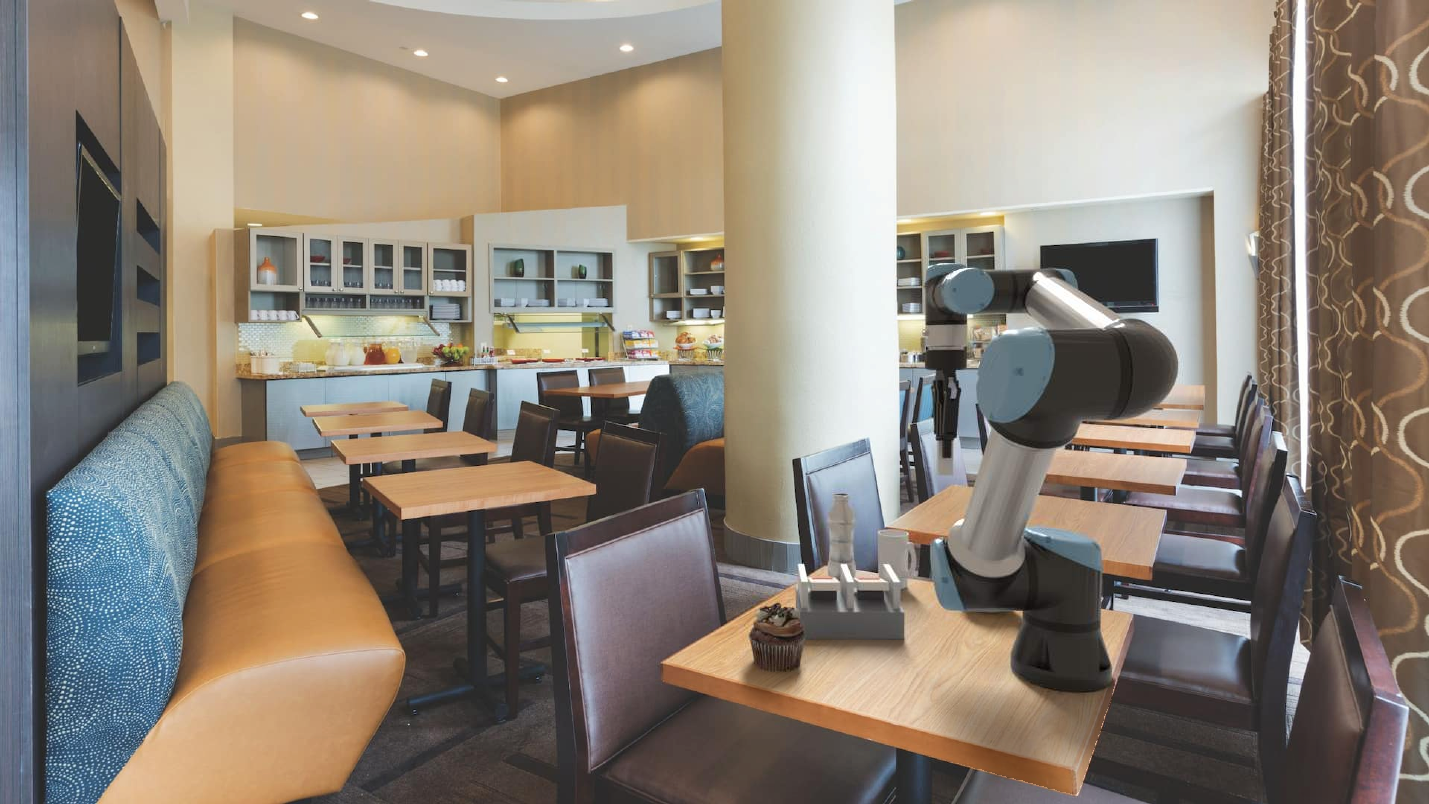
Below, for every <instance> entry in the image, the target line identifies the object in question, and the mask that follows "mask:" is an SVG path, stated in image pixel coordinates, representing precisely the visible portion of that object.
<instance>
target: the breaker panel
mask: <svg viewBox="0 0 1429 804" xmlns="http://www.w3.org/2000/svg"><path fill="white" fill-rule="evenodd" d="M883 580H885V581H887V582H889V590H858V589H857V588H855V587H854V581H853V578H852V576H851V574H850V571H849V569H848V567H847V564H840V581H839V582H840V587H841V591H811V590H810V588H809V586H808V576H807V572H806V567H805V564H804V563H797V585H795V609H798V611H799V618H800V620H801V621H802V624H803V628H804V633H805V639H827V640H828V639H839V640H840V639H842V640H843V639H845V640H846V639H847V640H849V639H850V640H851V639H852V640H857V639H858V640H859V639H860V640H863V639H865V640H905V611H904V609H903V607H902V605H901V589H900V581H899V579H898V578H897V576H896V574H895V573H894V571H893V570H892V568H891V566H890V565H889V564H883Z"/></svg>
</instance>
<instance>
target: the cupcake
mask: <svg viewBox="0 0 1429 804" xmlns="http://www.w3.org/2000/svg"><path fill="white" fill-rule="evenodd" d="M755 617H756V619H754V621H753V624H752V625H753V627H752V628H751V630H750V631H749V632H748V638H749V642H750V647H751V651H752V656H753V657H752V658H753V663H754V665H756V667H757V668H759V669H763V670H766V671H769V672H776V671H778V672H779V673H780V672H788V671H787V670H789V671H793V670H795V669H797V668H798V667H799V666H800V665H801V660H802V655H803V649H804V644H805V640H806V638H805V633H804V628H803V624H802V621H801V620H800V618H799V611H798V609H796V607H794V606H792V607H791V606H788V607H787V606H783V607H782V604H781V603H780V602H776V603H774V604H772V605H771V606H768V605H765V606H763V607H759V610H758V611H757V612H755Z"/></svg>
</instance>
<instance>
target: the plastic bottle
mask: <svg viewBox="0 0 1429 804" xmlns="http://www.w3.org/2000/svg"><path fill="white" fill-rule="evenodd" d="M832 503H834V504H833V505H832V507H831V508H830V509H829V511H828V512H827V516H826V517H827V525H828V532H829V552H828V553H829V556H828V563H827V568H826V569H827V570H826V571H827V574H828V577H832V578H836V579H837V580H838V581H839V582H840V564H847V567H848V569H849V571H850V574H851V576H852V578H856V577H855V576H856V573H857V567H856V561H855V553H854V533H855V526H856V514H855V513H854V511H853V509H852V507H851V506H850V503H851V499H850V494H849V493H846V492H836V493H833V500H832Z"/></svg>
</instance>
